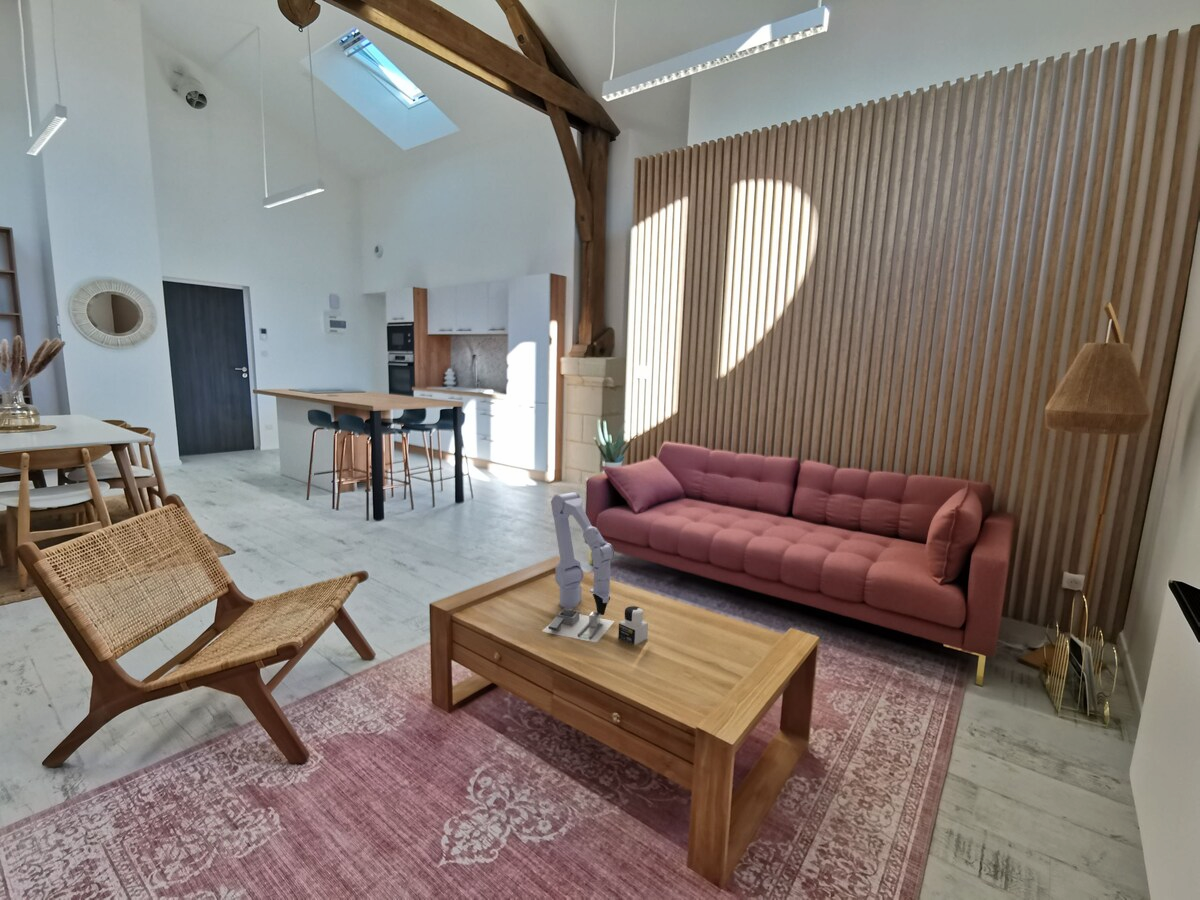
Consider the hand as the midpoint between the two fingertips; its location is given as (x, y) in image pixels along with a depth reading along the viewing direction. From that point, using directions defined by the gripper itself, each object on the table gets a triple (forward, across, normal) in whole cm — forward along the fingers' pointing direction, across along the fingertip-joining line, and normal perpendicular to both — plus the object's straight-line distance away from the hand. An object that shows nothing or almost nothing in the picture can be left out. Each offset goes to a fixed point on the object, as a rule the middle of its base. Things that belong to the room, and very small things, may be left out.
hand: (600, 614), depth 210 cm
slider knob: (+2, +5, -3) cm, 6 cm away
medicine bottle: (+4, +16, +8) cm, 18 cm away
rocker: (0, +6, -17) cm, 18 cm away
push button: (+2, 0, -12) cm, 12 cm away
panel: (+3, +4, -9) cm, 10 cm away
